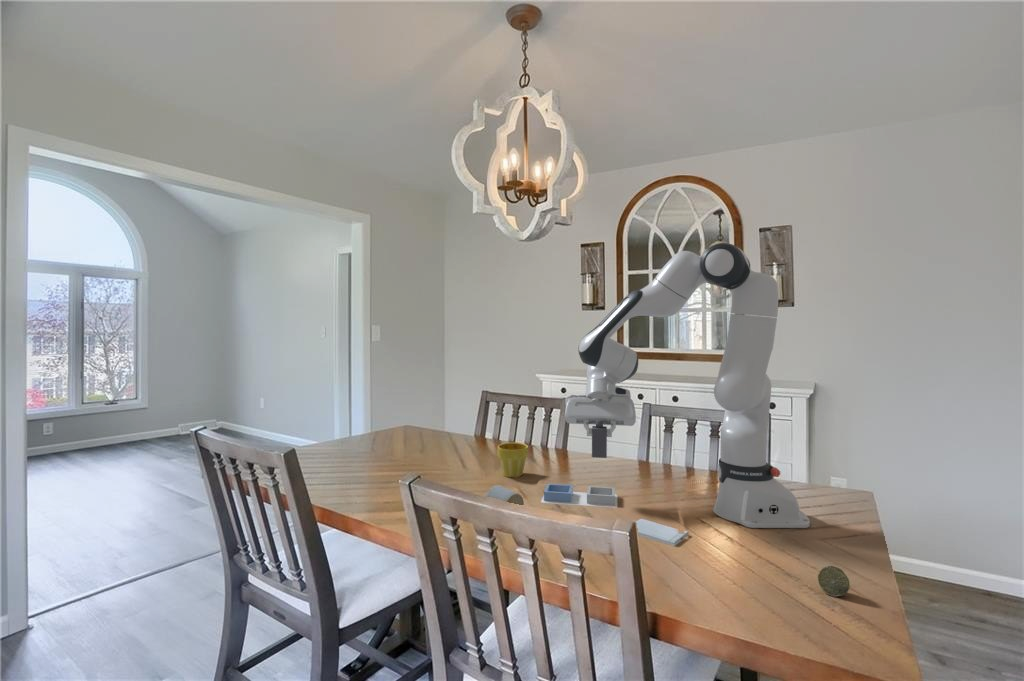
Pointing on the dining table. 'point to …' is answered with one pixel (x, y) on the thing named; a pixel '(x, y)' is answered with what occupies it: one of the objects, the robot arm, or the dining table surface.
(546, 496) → the plate
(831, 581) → the lime
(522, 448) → the plant pot
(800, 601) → the dining table surface
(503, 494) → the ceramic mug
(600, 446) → the plug
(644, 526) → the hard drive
